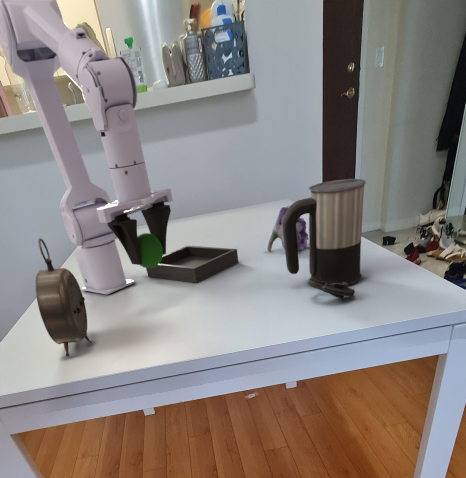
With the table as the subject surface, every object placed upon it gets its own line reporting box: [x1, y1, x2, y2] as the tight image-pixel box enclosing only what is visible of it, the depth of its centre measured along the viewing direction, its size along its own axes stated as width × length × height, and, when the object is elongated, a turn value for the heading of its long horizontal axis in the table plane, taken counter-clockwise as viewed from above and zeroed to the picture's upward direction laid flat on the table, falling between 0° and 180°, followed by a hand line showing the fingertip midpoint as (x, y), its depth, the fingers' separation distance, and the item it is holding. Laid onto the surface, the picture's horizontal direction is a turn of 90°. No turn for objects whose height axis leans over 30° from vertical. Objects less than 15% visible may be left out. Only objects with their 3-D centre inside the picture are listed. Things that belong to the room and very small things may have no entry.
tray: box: [145, 245, 239, 284], centre depth 101 cm, size 16×14×3 cm
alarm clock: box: [34, 237, 93, 358], centre depth 72 cm, size 11×5×16 cm, turn 5°
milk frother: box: [283, 178, 367, 301], centre depth 76 cm, size 14×16×15 cm
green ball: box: [137, 232, 164, 269], centre depth 80 cm, size 5×5×5 cm
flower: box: [267, 205, 309, 253], centre depth 100 cm, size 9×9×10 cm
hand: (149, 258), depth 81 cm, fingers closed on green ball, 5 cm apart
